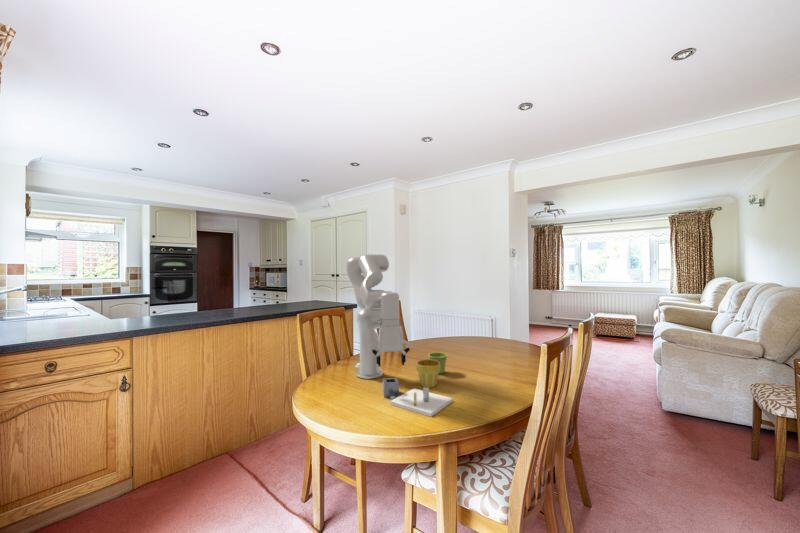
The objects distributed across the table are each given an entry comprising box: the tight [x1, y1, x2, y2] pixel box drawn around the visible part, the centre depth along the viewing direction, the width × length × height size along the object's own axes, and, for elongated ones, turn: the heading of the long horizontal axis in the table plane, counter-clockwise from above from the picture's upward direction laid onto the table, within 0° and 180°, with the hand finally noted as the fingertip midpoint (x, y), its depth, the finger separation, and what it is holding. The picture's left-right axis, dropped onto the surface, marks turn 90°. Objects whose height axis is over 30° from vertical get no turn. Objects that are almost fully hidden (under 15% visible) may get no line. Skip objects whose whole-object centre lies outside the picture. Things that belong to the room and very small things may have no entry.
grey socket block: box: [382, 377, 400, 402], centre depth 134 cm, size 10×6×6 cm, turn 8°
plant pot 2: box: [416, 358, 440, 388], centre depth 146 cm, size 10×10×10 cm
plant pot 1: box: [428, 351, 449, 375], centre depth 163 cm, size 9×9×9 cm
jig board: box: [389, 388, 454, 418], centre depth 127 cm, size 18×16×1 cm
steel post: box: [422, 386, 430, 402], centre depth 126 cm, size 2×2×5 cm
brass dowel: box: [414, 393, 417, 406], centre depth 122 cm, size 1×1×4 cm
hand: (391, 364), depth 135 cm, fingers open, 9 cm apart
